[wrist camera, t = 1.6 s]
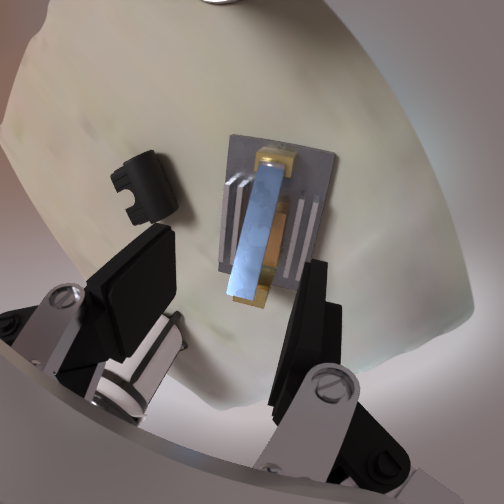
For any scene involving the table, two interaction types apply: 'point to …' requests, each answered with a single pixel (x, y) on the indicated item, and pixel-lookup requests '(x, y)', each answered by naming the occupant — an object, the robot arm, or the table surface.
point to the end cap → (145, 188)
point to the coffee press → (139, 373)
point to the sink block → (287, 211)
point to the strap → (256, 230)
